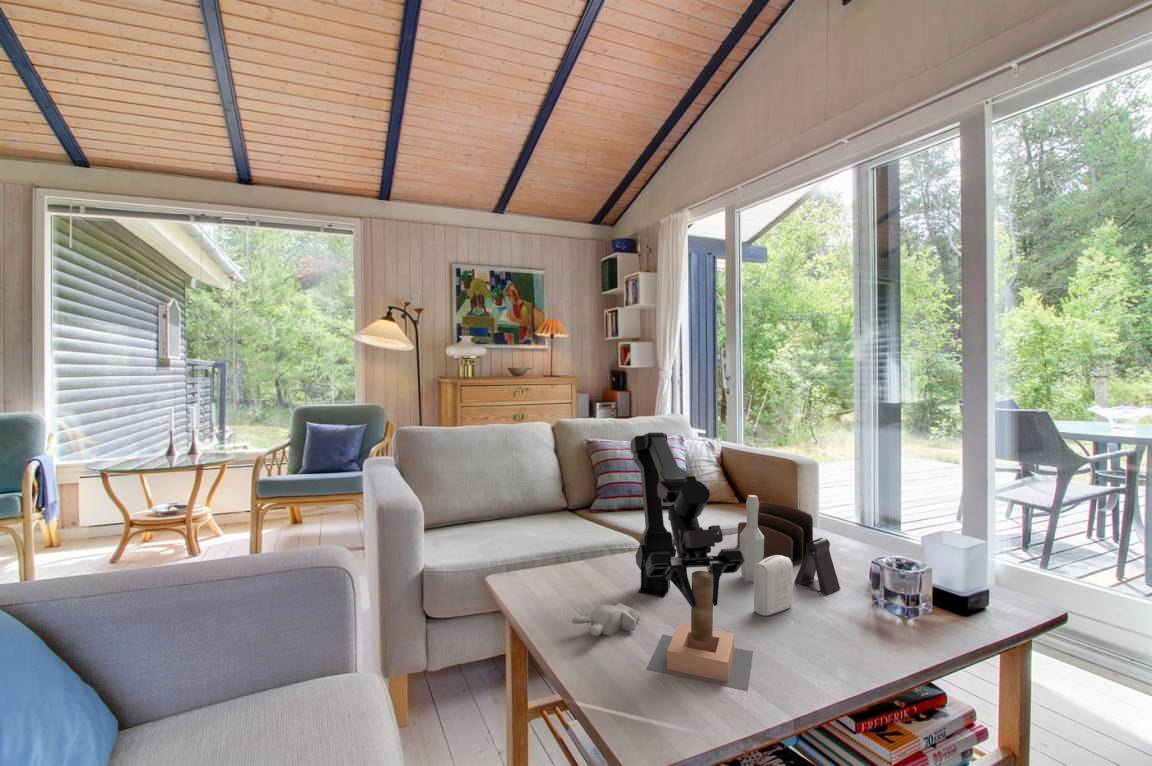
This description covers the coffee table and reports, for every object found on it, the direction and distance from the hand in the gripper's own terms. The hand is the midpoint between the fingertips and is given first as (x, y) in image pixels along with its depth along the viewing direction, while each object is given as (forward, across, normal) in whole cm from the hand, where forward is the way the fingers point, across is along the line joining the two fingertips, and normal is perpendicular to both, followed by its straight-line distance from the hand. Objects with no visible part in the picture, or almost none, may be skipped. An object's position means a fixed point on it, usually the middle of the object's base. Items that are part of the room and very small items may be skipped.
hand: (704, 606), depth 104 cm
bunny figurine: (-3, -15, +20) cm, 25 cm away
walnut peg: (+4, 0, +6) cm, 7 cm away
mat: (+7, 0, +9) cm, 12 cm away
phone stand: (-14, +42, +31) cm, 54 cm away
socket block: (+7, 0, +9) cm, 11 cm away
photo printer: (-6, +24, +23) cm, 34 cm away
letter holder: (-31, +43, +48) cm, 72 cm away
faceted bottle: (-19, +28, +36) cm, 49 cm away
